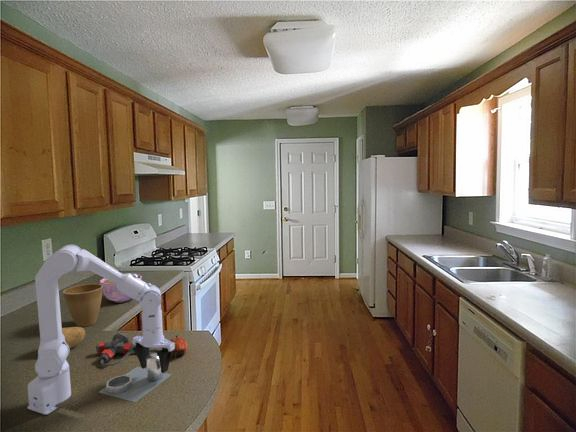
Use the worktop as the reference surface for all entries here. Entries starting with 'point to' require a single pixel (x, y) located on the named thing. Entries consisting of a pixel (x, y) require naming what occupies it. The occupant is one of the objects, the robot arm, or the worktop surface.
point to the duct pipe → (153, 368)
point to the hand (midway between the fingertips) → (154, 369)
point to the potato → (73, 335)
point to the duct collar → (120, 388)
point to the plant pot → (84, 303)
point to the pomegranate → (179, 346)
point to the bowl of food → (114, 291)
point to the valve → (117, 349)
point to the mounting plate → (136, 385)
